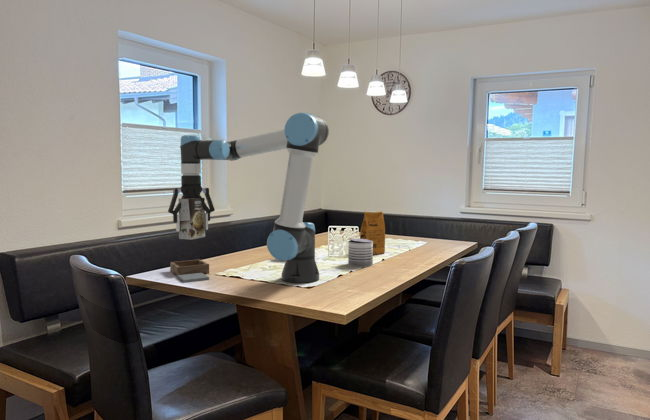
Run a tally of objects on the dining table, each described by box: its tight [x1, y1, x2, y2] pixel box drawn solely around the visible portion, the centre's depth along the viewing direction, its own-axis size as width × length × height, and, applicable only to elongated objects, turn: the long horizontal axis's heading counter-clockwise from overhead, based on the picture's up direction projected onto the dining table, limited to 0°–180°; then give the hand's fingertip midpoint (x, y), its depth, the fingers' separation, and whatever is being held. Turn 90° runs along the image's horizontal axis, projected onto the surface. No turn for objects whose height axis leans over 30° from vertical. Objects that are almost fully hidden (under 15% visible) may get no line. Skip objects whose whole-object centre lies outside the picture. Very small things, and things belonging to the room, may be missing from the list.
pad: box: [176, 273, 210, 283], centre depth 196 cm, size 10×10×1 cm
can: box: [347, 237, 374, 268], centre depth 225 cm, size 11×11×12 cm
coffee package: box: [359, 211, 386, 255], centre depth 255 cm, size 10×12×22 cm
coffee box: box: [178, 197, 206, 241], centre depth 194 cm, size 9×6×16 cm
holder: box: [169, 259, 210, 277], centre depth 207 cm, size 13×13×4 cm
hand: (192, 230), depth 194 cm, fingers closed on coffee box, 11 cm apart
